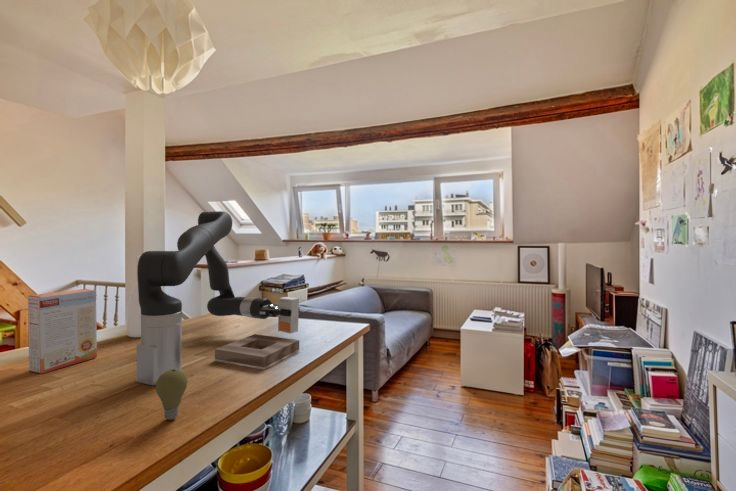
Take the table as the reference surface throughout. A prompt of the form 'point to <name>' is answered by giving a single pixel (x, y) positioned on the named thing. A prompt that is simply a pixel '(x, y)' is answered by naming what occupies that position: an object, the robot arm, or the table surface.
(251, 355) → the walnut stand
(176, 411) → the light bulb
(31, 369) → the cracker box
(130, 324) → the wine bottle
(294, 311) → the skincare box
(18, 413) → the table surface
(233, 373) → the table surface
